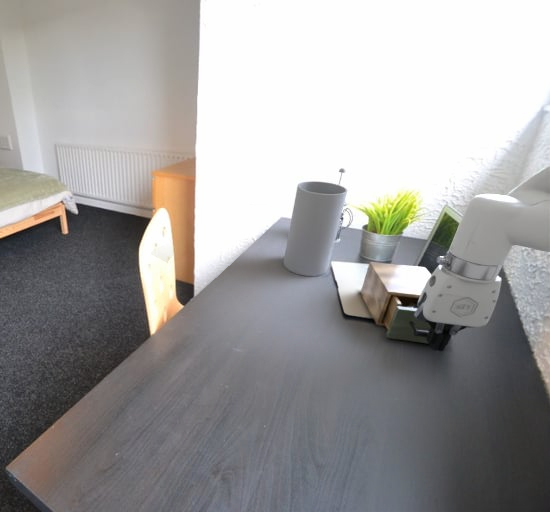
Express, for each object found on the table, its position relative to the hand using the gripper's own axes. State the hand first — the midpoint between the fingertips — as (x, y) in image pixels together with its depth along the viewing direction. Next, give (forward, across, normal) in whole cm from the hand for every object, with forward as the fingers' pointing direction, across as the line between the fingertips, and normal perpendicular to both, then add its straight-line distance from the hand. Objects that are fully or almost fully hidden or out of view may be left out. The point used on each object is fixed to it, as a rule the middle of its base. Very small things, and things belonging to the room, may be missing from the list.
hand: (434, 345), depth 73 cm
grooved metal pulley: (+3, 0, +11) cm, 11 cm away
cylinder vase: (+5, -19, +38) cm, 42 cm away
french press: (+5, -8, +62) cm, 62 cm away
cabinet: (+5, 0, +19) cm, 19 cm away
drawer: (+4, 0, +11) cm, 11 cm away
